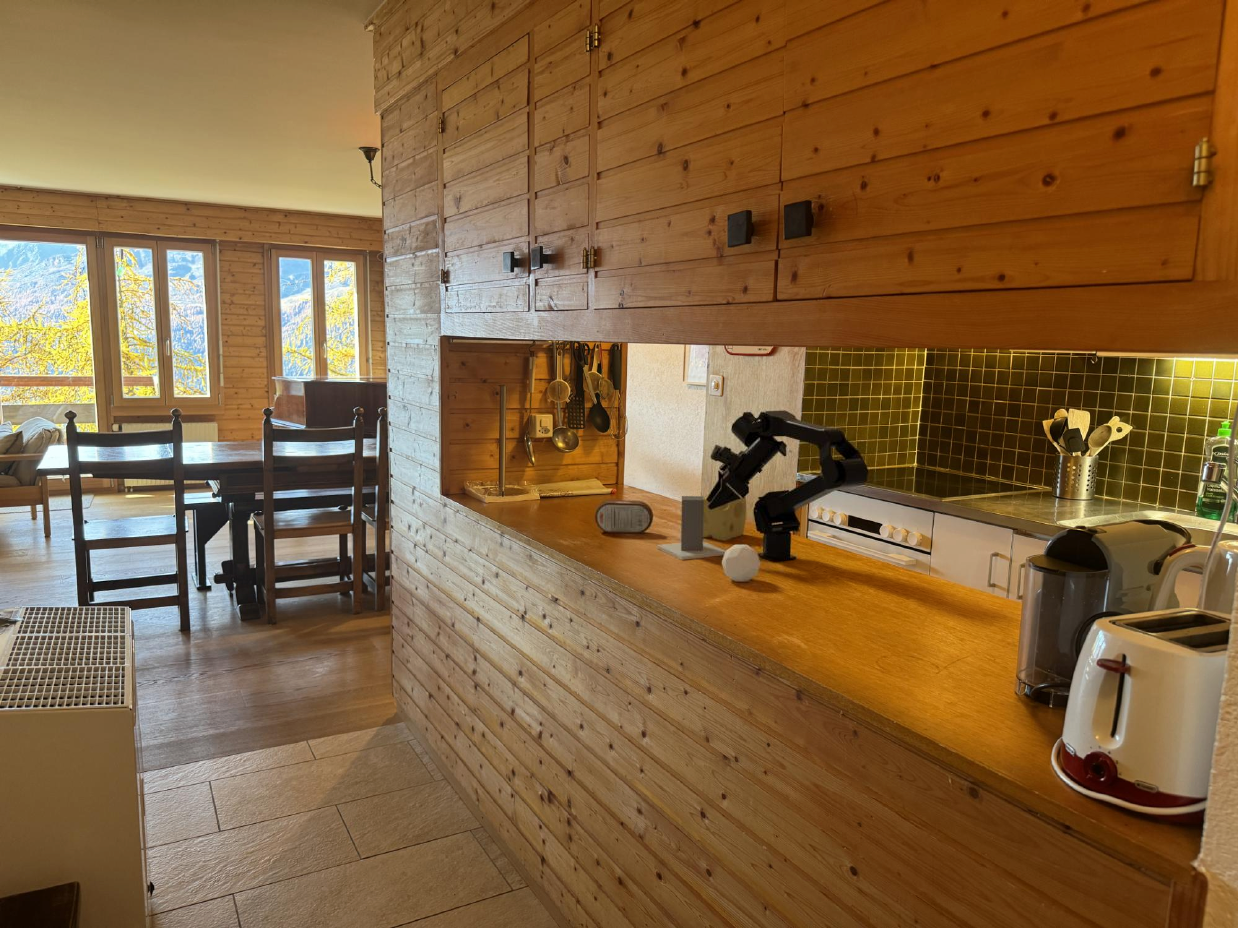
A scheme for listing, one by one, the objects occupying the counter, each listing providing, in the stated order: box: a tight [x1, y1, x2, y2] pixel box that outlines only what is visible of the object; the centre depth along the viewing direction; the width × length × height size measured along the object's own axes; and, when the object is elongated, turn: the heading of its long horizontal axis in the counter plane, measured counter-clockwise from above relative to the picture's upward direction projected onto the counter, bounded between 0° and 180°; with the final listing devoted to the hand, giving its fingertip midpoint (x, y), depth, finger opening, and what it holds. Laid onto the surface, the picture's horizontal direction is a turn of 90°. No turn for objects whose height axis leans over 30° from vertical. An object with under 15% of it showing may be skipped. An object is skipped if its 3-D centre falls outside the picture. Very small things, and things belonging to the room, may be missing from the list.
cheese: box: [702, 493, 747, 542], centre depth 222 cm, size 10×11×10 cm
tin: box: [594, 499, 654, 535], centre depth 225 cm, size 15×3×8 cm, turn 84°
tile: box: [656, 541, 726, 561], centre depth 205 cm, size 12×12×1 cm
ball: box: [721, 544, 761, 583], centre depth 180 cm, size 8×8×8 cm
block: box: [680, 495, 704, 551], centre depth 204 cm, size 5×5×12 cm
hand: (708, 504), depth 204 cm, fingers open, 9 cm apart
